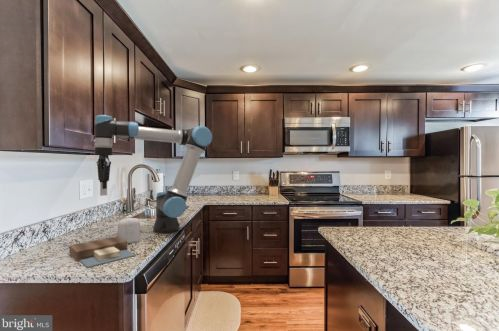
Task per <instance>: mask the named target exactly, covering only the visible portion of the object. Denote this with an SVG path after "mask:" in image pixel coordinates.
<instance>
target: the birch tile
mask: <svg viewBox="0 0 499 331" xmlns="http://www.w3.org/2000/svg"><path fill="white" fill-rule="evenodd" d="M94 257H95V258H96V259H97V260H98V261H99V262H101V261H105V260H109V259H113V258H117V257H120V250H118V249H117V248H115V247H110V248H105V249H100V250H95V251H94Z"/></svg>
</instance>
